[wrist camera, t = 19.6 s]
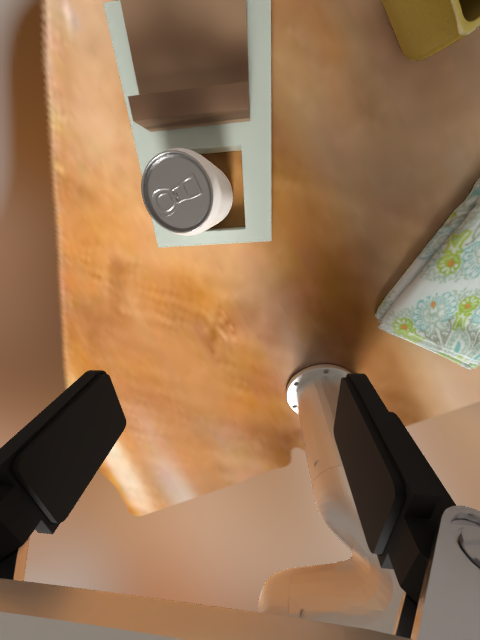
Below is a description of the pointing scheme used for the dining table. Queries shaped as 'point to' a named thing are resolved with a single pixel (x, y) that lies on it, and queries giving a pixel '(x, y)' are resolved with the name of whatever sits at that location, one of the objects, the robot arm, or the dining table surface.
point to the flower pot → (431, 24)
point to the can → (185, 192)
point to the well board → (215, 131)
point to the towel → (442, 290)
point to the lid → (188, 62)
